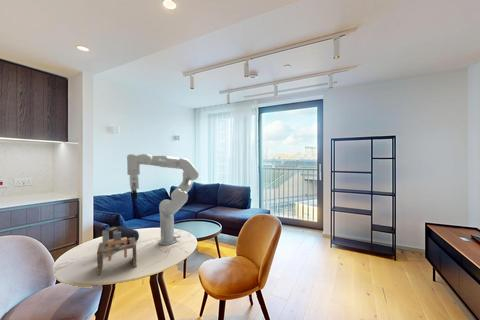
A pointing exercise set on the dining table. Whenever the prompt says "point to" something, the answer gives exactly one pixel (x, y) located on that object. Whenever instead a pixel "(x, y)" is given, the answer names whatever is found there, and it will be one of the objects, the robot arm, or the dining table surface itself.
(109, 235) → the coffee box
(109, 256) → the tan and grey block
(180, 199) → the robot arm
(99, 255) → the shelf
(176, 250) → the dining table surface
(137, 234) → the portable speaker
